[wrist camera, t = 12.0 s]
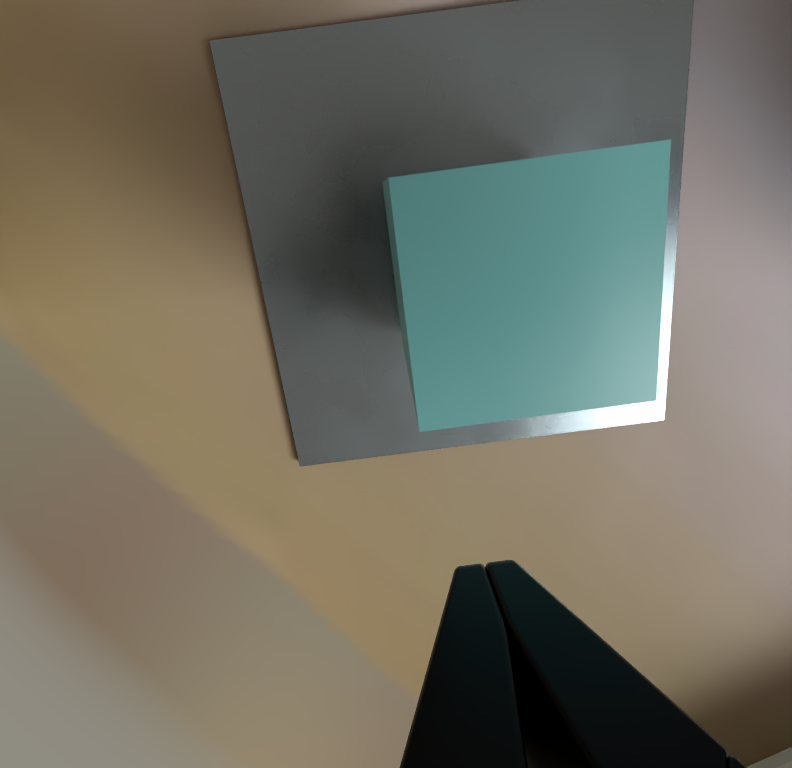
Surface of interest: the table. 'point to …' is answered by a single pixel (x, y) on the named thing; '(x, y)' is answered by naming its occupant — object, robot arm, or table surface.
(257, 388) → the table surface
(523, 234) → the teal tilted cuboid
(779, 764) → the butter dish
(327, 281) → the thin grey square plate
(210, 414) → the table surface
